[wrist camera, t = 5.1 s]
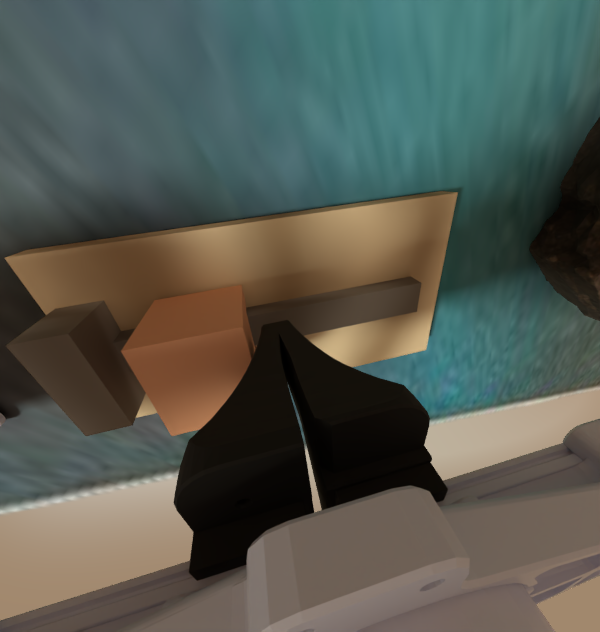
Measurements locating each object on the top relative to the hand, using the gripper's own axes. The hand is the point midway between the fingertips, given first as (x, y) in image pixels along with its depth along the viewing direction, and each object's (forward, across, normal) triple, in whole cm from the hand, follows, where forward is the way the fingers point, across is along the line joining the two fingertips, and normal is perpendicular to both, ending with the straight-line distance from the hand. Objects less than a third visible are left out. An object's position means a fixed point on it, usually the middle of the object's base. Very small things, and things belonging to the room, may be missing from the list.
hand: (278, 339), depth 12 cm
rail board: (+3, 0, 0) cm, 3 cm away
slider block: (+2, +3, 0) cm, 4 cm away
